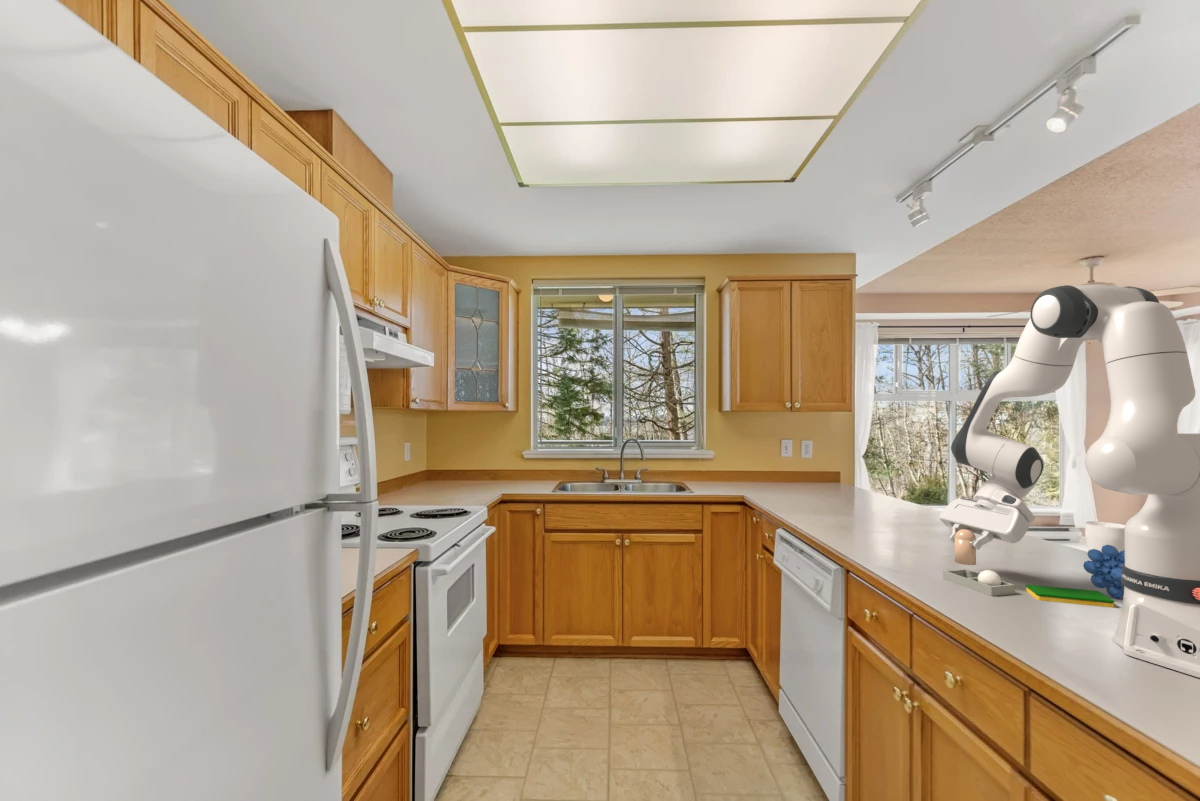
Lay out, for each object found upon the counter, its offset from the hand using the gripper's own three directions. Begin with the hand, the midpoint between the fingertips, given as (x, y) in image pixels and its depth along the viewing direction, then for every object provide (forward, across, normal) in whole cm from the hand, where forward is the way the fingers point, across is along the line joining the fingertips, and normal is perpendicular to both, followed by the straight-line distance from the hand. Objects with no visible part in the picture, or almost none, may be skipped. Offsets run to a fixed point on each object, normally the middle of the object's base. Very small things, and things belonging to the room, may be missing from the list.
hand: (963, 544), depth 137 cm
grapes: (-10, +18, +24) cm, 32 cm away
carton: (+6, +3, +7) cm, 10 cm away
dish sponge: (-2, +16, +16) cm, 22 cm away
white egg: (+6, +6, +7) cm, 11 cm away
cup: (-27, 0, +42) cm, 50 cm away
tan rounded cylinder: (+3, 0, +4) cm, 5 cm away
